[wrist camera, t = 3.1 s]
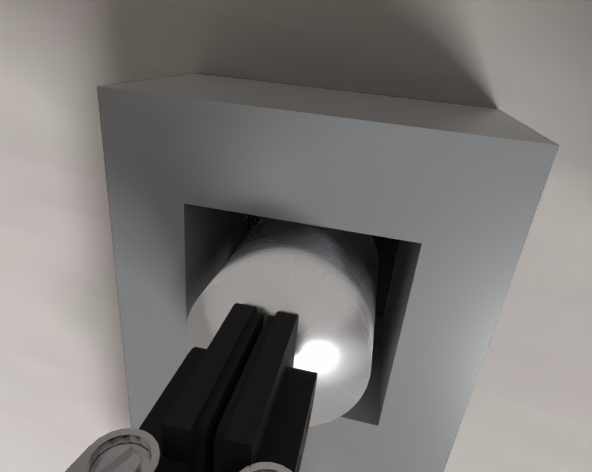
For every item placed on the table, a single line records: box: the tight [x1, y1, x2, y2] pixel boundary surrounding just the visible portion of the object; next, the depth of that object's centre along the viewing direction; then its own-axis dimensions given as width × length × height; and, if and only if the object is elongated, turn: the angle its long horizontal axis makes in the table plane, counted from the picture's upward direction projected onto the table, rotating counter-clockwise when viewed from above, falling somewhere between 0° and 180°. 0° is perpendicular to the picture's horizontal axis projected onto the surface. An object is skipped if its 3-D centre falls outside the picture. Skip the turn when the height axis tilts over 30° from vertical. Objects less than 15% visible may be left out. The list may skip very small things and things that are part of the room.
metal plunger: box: [185, 217, 379, 427], centre depth 14 cm, size 5×5×6 cm
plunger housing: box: [97, 73, 559, 472], centre depth 18 cm, size 11×24×6 cm, turn 175°
